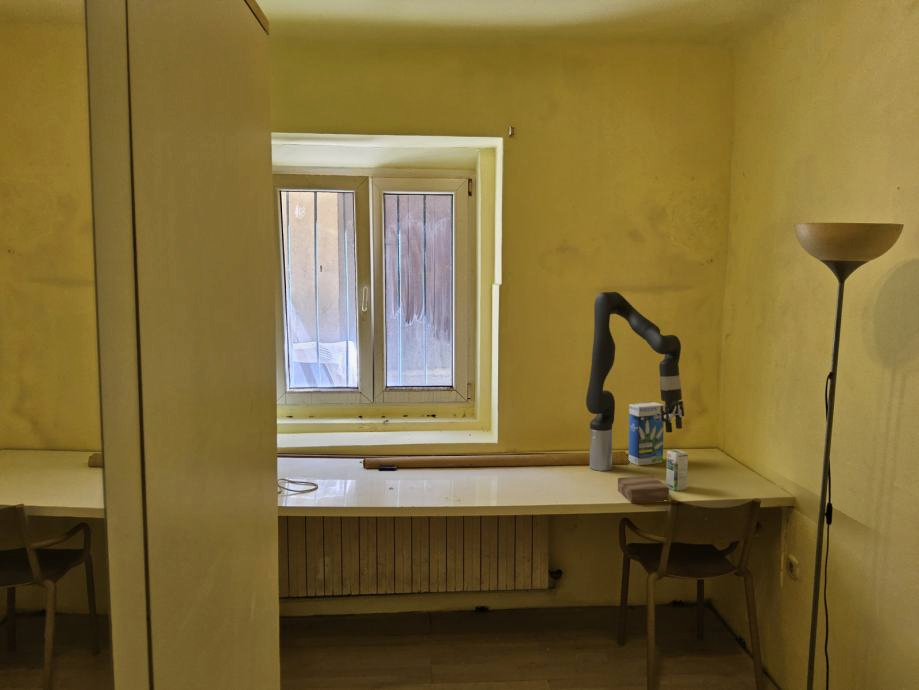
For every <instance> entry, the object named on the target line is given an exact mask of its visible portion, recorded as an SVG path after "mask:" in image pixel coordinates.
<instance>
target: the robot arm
mask: <svg viewBox="0 0 919 690" xmlns="http://www.w3.org/2000/svg"><path fill="white" fill-rule="evenodd" d="M593 305H594V306H593V308H594V309H593V311H594V314H593V315H594V316H593V317H594V319H593V320H594V323H593V324H594V328H593V329H594V330H593V343H592V351H591V352H592V353H591V365H590V367H591V368H590V374H589V382H588V388H587V392H586V398H585V405H586V409H587V411H588V412H589V413H591V414H592V415H595V417H594V418H593V419H592V420H591V421H589V468H590V469H591V470H594V471H600V472H602V471H610V470H612V469H613V468H612V467H613V465H612V464H613V462H612V461H613V460H612V459H613V452H612V451H613V426H614V425H613V424H614V421H615V410H616V401H615V397H614V395H613V393H612V392H611V391H610V390H605V389H604V385H605V382H606V380H607V376H608V375H609V374H610V372H611V370H612V368H613V366H614V363H615V358H616V357H615V356H616V343H615V340H614V338H613V335H612V332H611V329H610V319H611V315H618V316H619V317H621V318H623V319H624V320H626V322H627V323H628V325H629V326H630V329H631V330H632V331H633V332H634V333H635V334H636V335H638V336H639V337H640V338H642V340H645V341H646V343H647V344H648V345H649V346H650V347H651V349H652V350H653V351H655V353H657V354H659V355H664V357H663V359H662V360H661V361H660V362H659V365H658V368H659V388H660V389H659V390H660V400H661V401H662V402H664V404H663V405H661V419H662V421H664V426H665V433H668V434H669V433H673V423H672V419H673V418H675V419H674V421H675V428H676V430H677V429H678V430H679V429H683V420H682V419H683V417H685V408H684V407H685V406H684V402H683V400H682V399H683V395H682V393H683V392H682V383H681V377H680V368H679V367H680V366H679V362H680V357H681V351H682V344H681V341H680V339H679V337H678V336H677V335H674V334H666V335H663V334H661V329H660V327H659V326H657V325H656V323H654V322H652V321H651V320H649V319H648V318H647V317H645V316H644V315H643V314H641V312H639V311H638V310H637V309H636V308H635V307H634V306H633V305H632V304H631V303H630V302H629V301H628V300H627V299H626V298H625V297H624V296H623V295H622V294H621V293H619V292H617V291H604V292H599V293H598V294H597V295H596V296H595V299H594V304H593Z"/></svg>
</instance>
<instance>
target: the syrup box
mask: <svg viewBox="0 0 919 690" xmlns="http://www.w3.org/2000/svg"><path fill="white" fill-rule="evenodd" d="M688 460H689V453H688V452H685V451H682V450H680V449H671V450H667V451H666V476H665V477H666V481H665V483H666V484H665V485H666V486H667V487H669V490H672V491H674V492H678V491H679V490H680V491H684V489H685V490H688V468H689V467H688V465H689V464H688V462H689V461H688ZM680 491H679V492H680Z"/></svg>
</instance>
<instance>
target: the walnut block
mask: <svg viewBox="0 0 919 690" xmlns="http://www.w3.org/2000/svg"><path fill="white" fill-rule="evenodd" d="M617 492H619V493H620V495H622V496H623V497H624V498H625V499H626V500H627V501H629V502H630V503H631V504H641V503H642V504H643V503H657V502H656V501H663V502H665V501H664V500H667V501H666V502H669V501H670V488H669V487H667V486H666V484H665V483H663V482H662V481H661V480H659V479H658V478H657V477H655V476H654V475H647V476H630V477H628V476H627V477H618V478H617Z"/></svg>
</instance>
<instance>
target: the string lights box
mask: <svg viewBox="0 0 919 690" xmlns="http://www.w3.org/2000/svg"><path fill="white" fill-rule="evenodd" d="M661 405H664V404H663V403H658V402H654V401H652V402H639V403H633V404H632V403H630V404H629V405H628V406H629V411H628V412H629V413H628V415H629V416H628V419H629V420H628V421H629V422H628V460H629V461H630V462H629V461H628V462H629V463H631V464H633V465H635V466H645V465H653V464H654V465H655V464H662V462H664V426H665V422H664V421H662V419H661Z"/></svg>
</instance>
